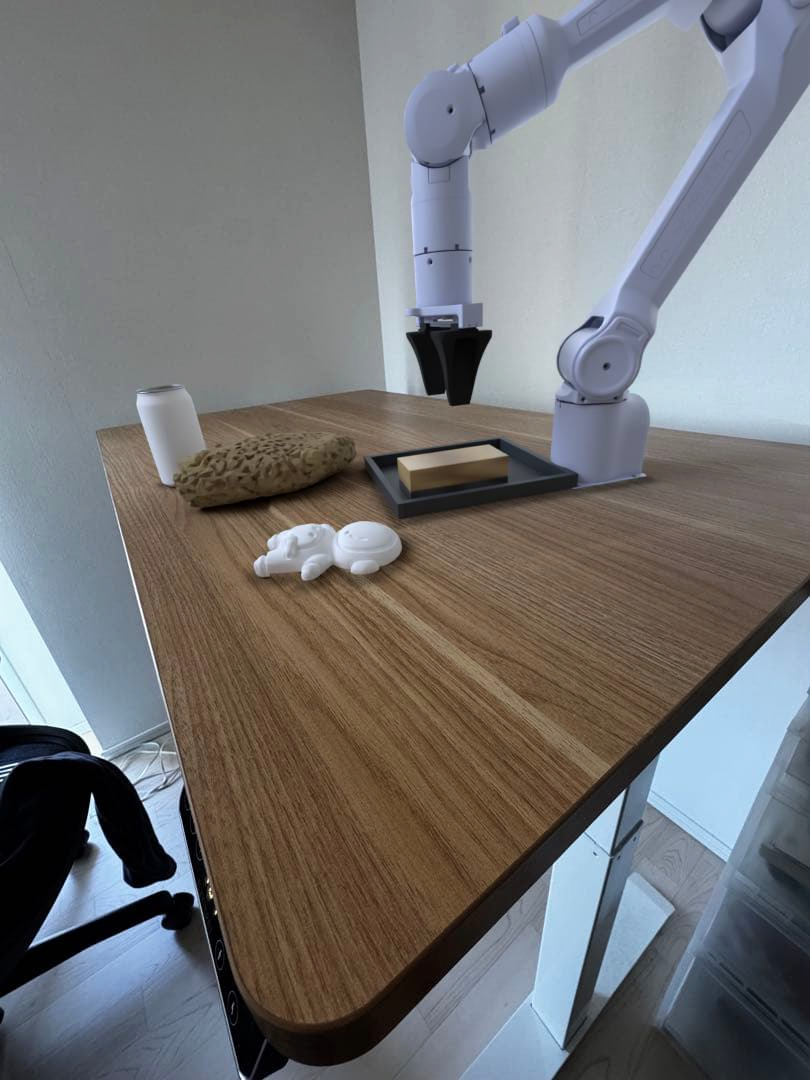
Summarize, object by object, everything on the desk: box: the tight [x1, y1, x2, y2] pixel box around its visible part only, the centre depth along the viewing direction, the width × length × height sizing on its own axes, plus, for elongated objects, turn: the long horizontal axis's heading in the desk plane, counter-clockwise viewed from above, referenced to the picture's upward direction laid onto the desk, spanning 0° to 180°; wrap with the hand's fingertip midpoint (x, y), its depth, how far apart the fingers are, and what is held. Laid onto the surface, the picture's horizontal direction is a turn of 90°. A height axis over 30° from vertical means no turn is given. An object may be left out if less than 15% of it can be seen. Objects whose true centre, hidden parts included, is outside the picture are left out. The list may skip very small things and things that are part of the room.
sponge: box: [173, 431, 357, 509], centre depth 53 cm, size 13×8×20 cm
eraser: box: [397, 445, 509, 499], centre depth 49 cm, size 11×5×4 cm, turn 105°
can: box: [135, 384, 207, 488], centre depth 58 cm, size 6×6×12 cm
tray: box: [363, 435, 578, 520], centre depth 53 cm, size 20×18×2 cm
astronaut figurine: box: [253, 520, 403, 582], centre depth 38 cm, size 9×12×3 cm
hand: (446, 399), depth 50 cm, fingers open, 7 cm apart
